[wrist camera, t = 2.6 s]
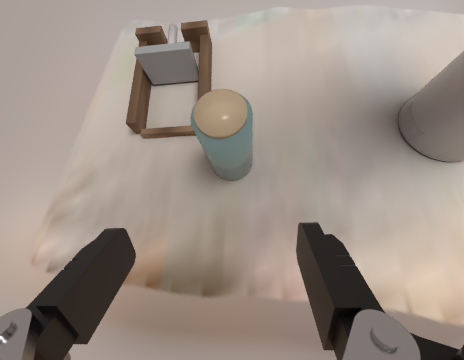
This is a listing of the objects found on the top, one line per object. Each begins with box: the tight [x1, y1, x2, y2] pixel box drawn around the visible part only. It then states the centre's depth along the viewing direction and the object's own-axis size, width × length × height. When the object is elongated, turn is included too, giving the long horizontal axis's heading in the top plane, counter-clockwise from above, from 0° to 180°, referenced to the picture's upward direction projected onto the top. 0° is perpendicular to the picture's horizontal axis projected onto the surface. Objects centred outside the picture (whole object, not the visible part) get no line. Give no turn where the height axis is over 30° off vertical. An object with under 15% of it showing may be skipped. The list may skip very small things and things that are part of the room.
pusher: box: [135, 24, 199, 85], centre depth 28 cm, size 7×8×5 cm
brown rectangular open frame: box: [126, 20, 212, 138], centre depth 28 cm, size 10×16×4 cm, turn 1°
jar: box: [191, 89, 252, 181], centre depth 20 cm, size 5×5×10 cm
